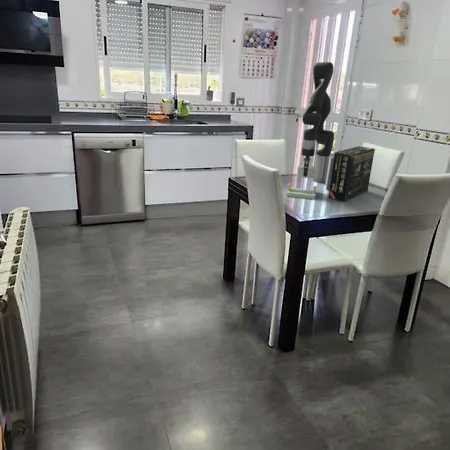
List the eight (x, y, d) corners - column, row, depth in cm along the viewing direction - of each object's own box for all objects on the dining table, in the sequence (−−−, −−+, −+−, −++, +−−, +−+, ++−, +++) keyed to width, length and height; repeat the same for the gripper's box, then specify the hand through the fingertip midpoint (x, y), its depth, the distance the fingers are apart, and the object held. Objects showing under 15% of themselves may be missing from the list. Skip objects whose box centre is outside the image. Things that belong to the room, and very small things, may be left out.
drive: (296, 175, 244) (297, 165, 242) (313, 176, 243) (314, 166, 241) (297, 177, 240) (298, 167, 237) (314, 178, 239) (315, 168, 237)
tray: (288, 191, 238) (289, 181, 236) (315, 194, 235) (317, 184, 233) (286, 195, 228) (287, 185, 226) (315, 199, 225) (316, 188, 223)
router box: (351, 187, 255) (358, 145, 246) (368, 191, 249) (376, 148, 240) (326, 198, 229) (333, 151, 220) (344, 202, 223) (352, 154, 213)
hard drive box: (338, 190, 245) (343, 158, 238) (326, 189, 247) (330, 157, 240) (337, 184, 260) (342, 154, 253) (325, 183, 261) (329, 153, 254)
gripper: (302, 144, 242) (299, 172, 248) (301, 149, 229) (298, 177, 235) (315, 145, 241) (312, 173, 247) (314, 150, 228) (311, 178, 234)
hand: (305, 175), depth 241 cm, fingers closed on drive, 5 cm apart
